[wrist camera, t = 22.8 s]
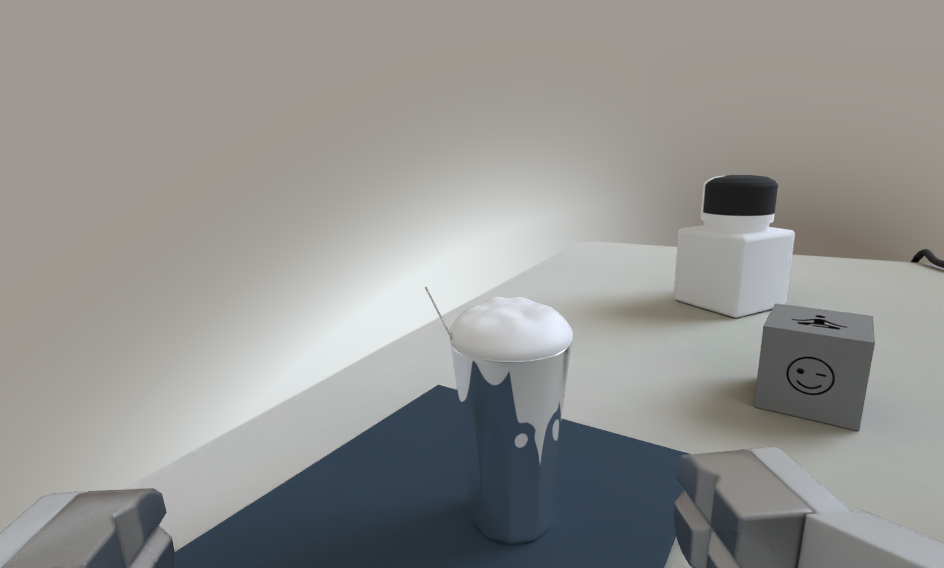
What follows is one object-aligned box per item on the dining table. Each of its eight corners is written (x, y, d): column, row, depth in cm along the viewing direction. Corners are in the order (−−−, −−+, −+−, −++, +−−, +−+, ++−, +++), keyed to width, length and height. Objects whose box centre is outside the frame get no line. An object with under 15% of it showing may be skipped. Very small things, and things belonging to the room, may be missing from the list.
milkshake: (430, 493, 23) (418, 273, 21) (545, 476, 24) (548, 264, 22) (446, 572, 19) (433, 306, 16) (585, 547, 20) (594, 292, 17)
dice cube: (753, 406, 31) (763, 325, 29) (765, 375, 35) (774, 303, 33) (858, 430, 28) (874, 342, 27) (859, 394, 32) (872, 316, 31)
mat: (438, 390, 34) (438, 384, 34) (703, 464, 25) (704, 457, 25) (86, 619, 18) (83, 609, 18) (486, 1036, 9) (485, 1021, 9)
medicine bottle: (787, 306, 49) (804, 175, 46) (736, 319, 46) (750, 179, 43) (720, 289, 55) (732, 172, 52) (671, 299, 52) (680, 176, 49)
